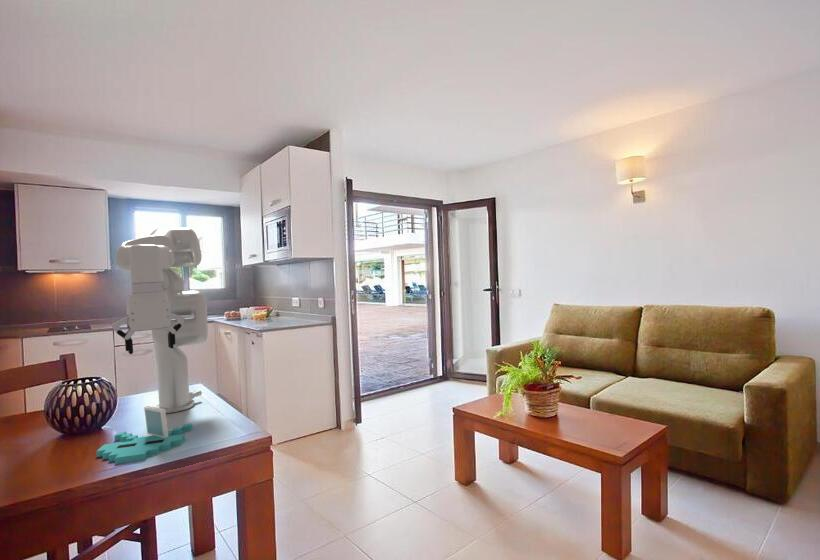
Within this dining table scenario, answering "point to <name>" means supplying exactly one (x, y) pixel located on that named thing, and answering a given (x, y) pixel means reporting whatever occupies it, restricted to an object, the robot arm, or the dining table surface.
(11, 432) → the dining table surface
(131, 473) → the dining table surface
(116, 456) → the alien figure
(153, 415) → the tile
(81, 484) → the dining table surface
